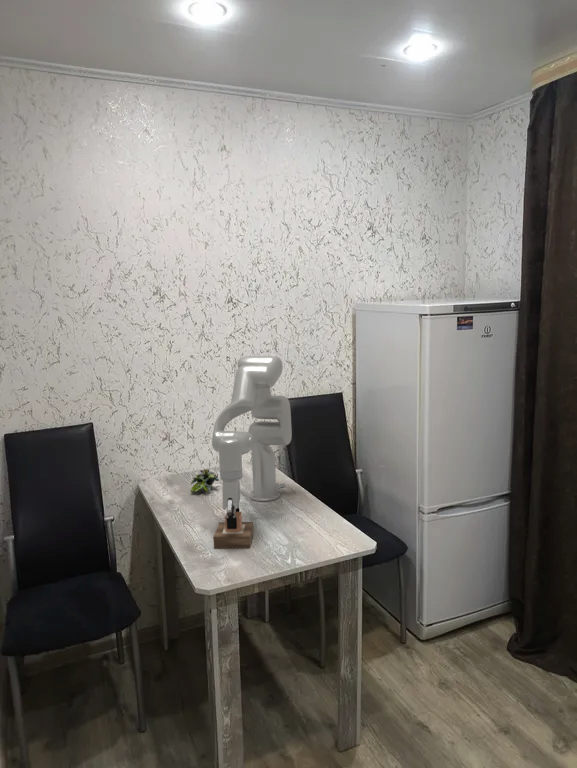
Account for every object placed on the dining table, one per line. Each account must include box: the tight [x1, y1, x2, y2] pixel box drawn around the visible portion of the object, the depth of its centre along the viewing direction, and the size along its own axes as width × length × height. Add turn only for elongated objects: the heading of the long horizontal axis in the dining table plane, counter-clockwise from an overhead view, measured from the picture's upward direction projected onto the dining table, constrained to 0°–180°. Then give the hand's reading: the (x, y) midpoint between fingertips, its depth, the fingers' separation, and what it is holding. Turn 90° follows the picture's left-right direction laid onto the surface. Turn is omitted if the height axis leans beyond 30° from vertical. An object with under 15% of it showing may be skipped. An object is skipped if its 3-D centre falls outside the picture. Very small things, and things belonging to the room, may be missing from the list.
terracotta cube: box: [224, 511, 243, 532], centre depth 190 cm, size 5×5×5 cm
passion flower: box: [190, 468, 220, 495], centre depth 239 cm, size 11×11×12 cm
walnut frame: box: [212, 521, 255, 549], centre depth 191 cm, size 12×12×4 cm
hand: (233, 523), depth 190 cm, fingers open, 7 cm apart
